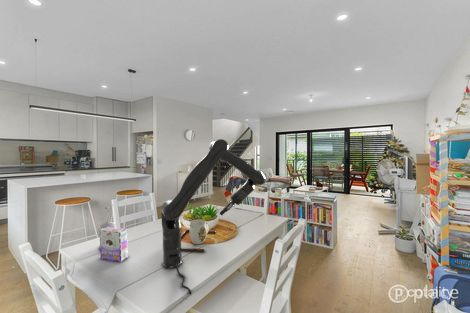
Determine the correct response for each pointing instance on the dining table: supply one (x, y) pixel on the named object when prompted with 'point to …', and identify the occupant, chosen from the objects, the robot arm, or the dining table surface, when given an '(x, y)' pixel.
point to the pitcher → (198, 231)
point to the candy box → (113, 244)
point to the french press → (107, 224)
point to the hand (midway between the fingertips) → (220, 214)
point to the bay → (193, 248)
